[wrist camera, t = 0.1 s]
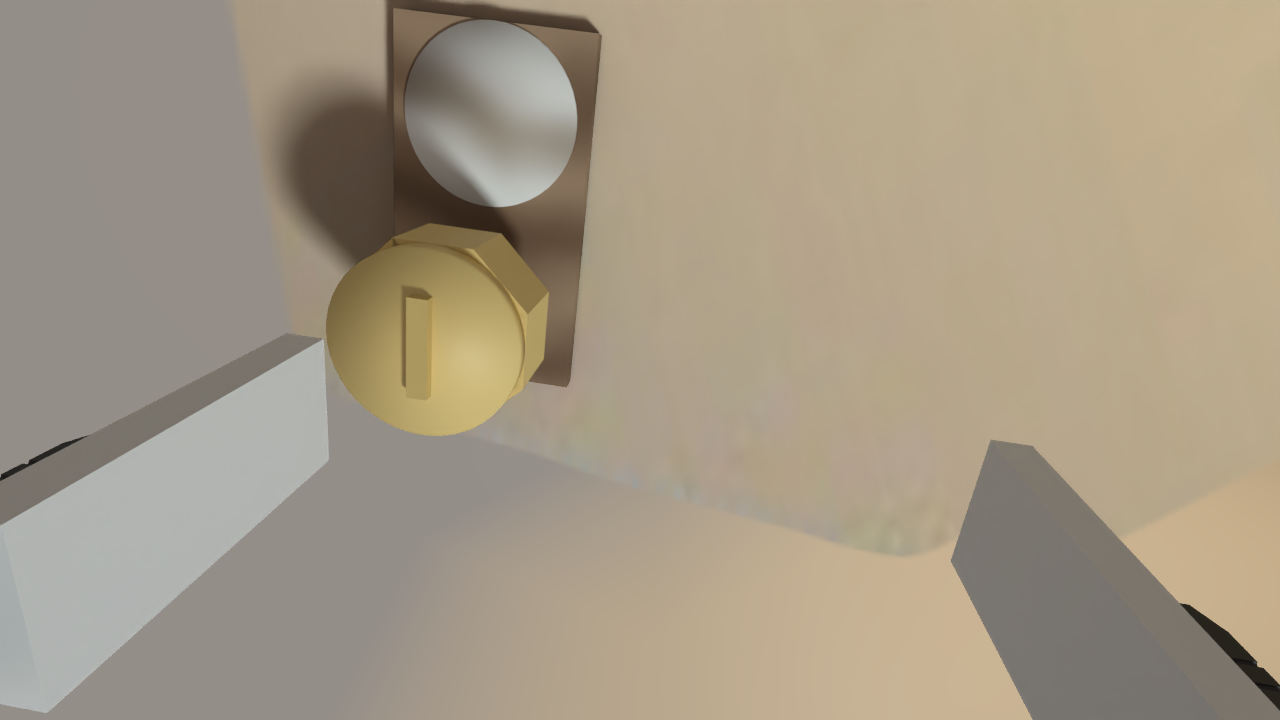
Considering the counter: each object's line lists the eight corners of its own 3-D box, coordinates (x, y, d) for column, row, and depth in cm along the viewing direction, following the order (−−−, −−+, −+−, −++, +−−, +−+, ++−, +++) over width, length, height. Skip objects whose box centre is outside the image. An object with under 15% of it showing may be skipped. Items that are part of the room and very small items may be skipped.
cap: (378, 215, 37) (314, 235, 31) (552, 240, 36) (521, 266, 30) (381, 379, 40) (323, 425, 34) (540, 404, 39) (509, 455, 34)
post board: (401, 10, 37) (309, -19, 29) (601, 35, 37) (566, 13, 28) (401, 355, 44) (327, 413, 36) (569, 381, 44) (534, 446, 35)
